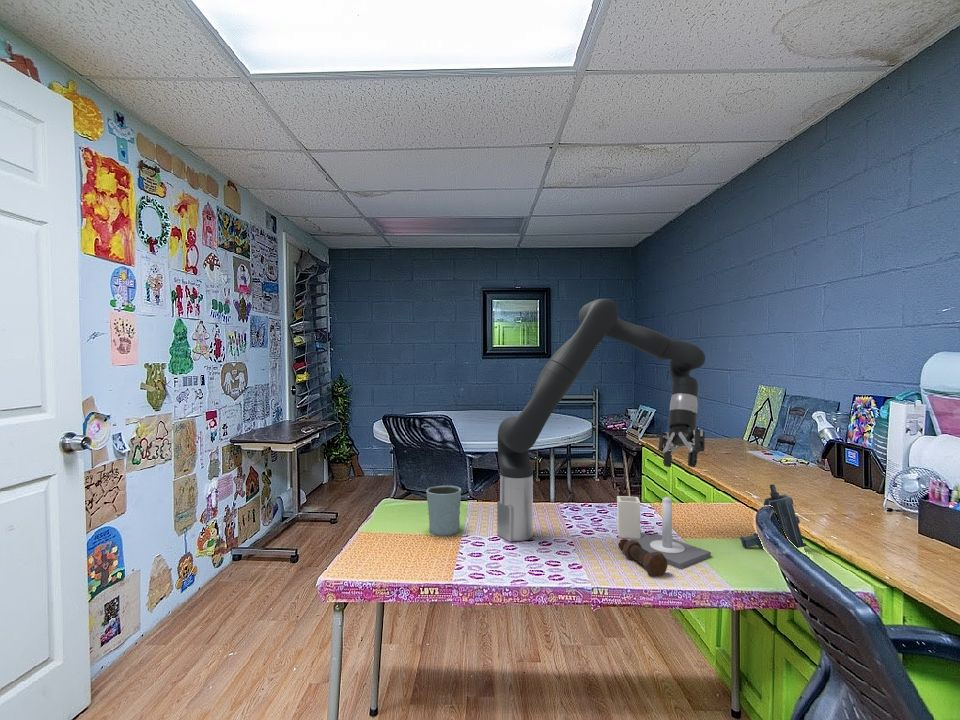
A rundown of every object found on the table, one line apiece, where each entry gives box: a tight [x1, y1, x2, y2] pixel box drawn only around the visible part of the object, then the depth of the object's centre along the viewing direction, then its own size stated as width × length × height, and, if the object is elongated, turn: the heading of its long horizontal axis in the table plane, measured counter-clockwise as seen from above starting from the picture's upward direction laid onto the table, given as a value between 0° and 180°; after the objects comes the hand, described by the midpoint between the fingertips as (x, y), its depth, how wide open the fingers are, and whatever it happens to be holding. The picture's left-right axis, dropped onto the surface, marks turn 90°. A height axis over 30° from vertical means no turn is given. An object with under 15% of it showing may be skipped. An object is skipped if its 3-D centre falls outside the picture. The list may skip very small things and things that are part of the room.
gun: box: [739, 483, 808, 549], centre depth 129 cm, size 3×17×15 cm
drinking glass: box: [425, 485, 462, 537], centre depth 143 cm, size 10×10×12 cm
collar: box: [616, 495, 641, 540], centre depth 140 cm, size 6×6×10 cm
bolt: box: [617, 538, 669, 577], centre depth 120 cm, size 6×5×15 cm
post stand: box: [635, 496, 712, 570], centre depth 127 cm, size 13×16×14 cm
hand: (679, 466), depth 139 cm, fingers open, 8 cm apart
